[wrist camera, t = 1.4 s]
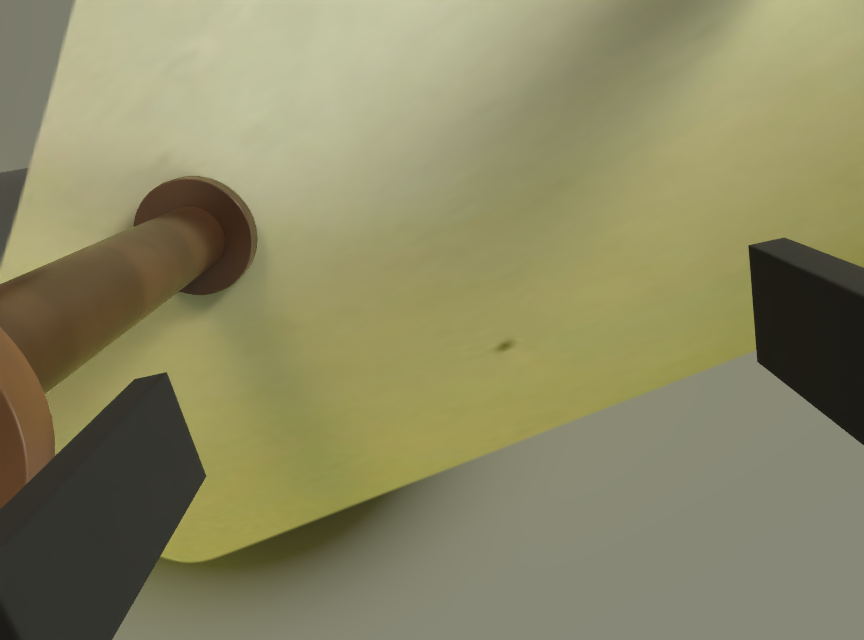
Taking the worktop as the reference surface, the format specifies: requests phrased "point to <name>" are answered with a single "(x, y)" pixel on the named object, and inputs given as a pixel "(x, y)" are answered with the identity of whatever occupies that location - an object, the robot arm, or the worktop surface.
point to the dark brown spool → (107, 304)
